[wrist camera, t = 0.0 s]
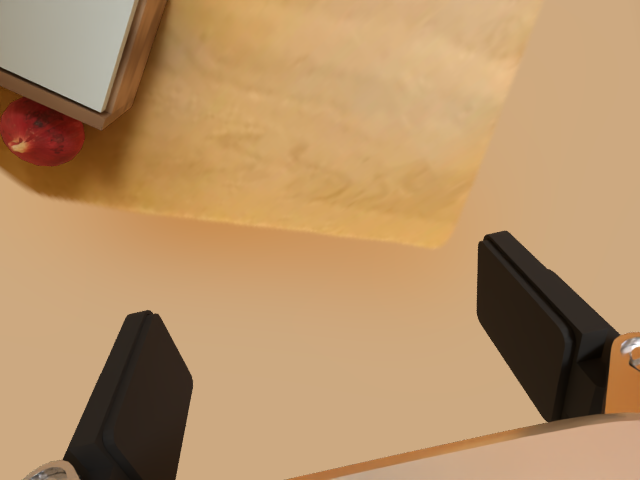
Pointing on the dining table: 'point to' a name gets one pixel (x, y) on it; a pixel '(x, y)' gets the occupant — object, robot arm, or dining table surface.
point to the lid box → (125, 79)
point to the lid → (66, 44)
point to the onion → (40, 133)
